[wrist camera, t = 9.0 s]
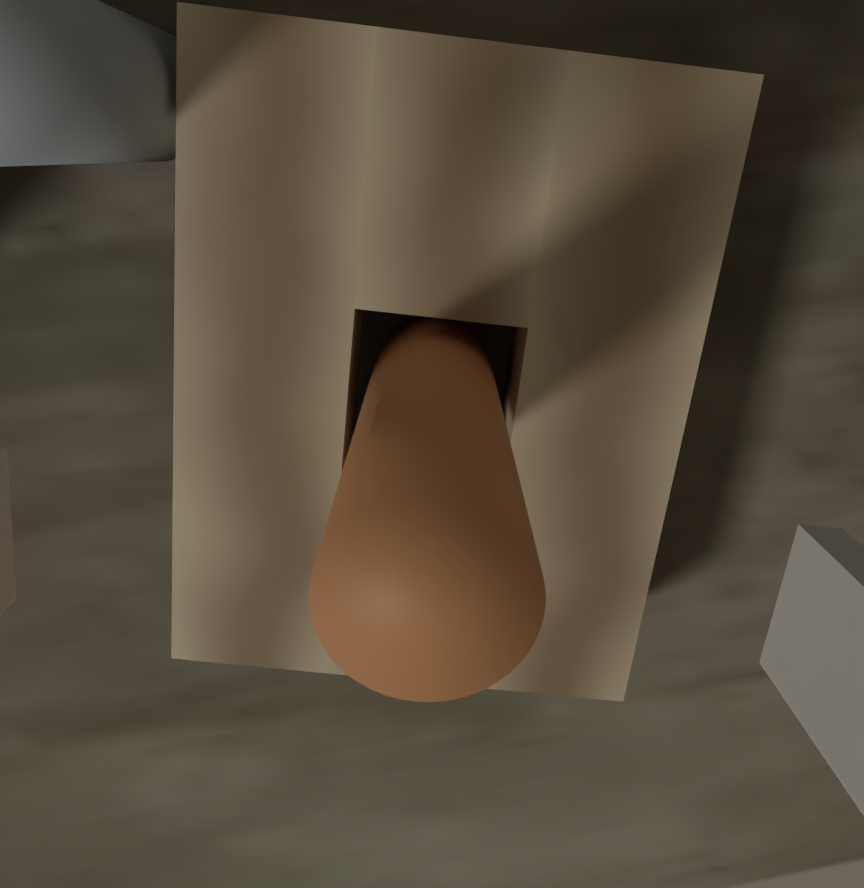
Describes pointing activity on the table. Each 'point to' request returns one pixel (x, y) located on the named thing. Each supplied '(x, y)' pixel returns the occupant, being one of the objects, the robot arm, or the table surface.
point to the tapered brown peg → (428, 528)
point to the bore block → (435, 303)
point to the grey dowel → (84, 85)
